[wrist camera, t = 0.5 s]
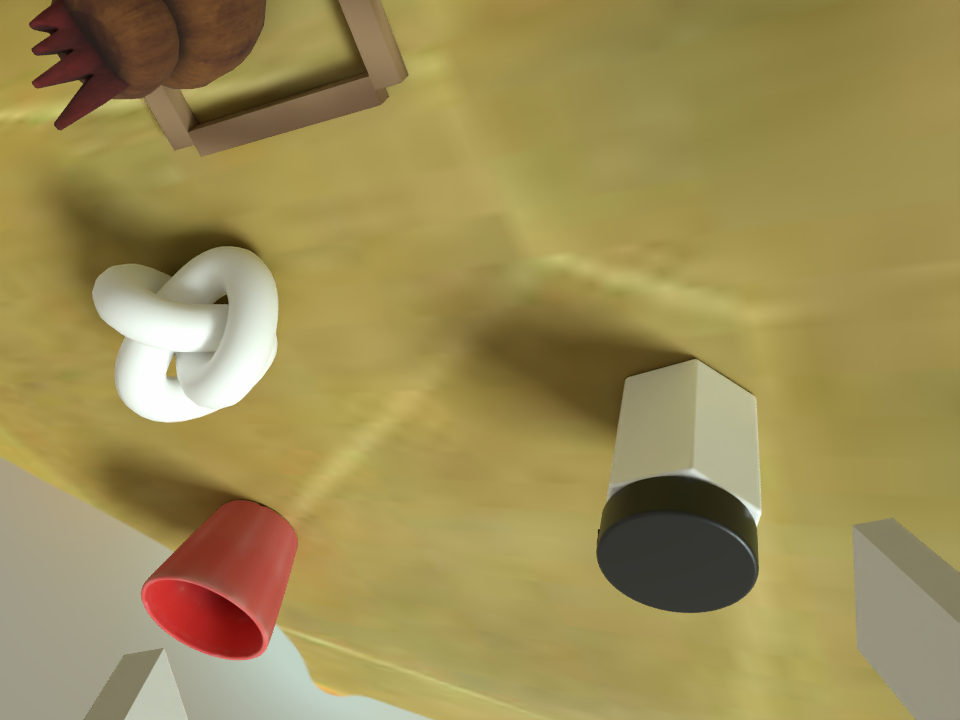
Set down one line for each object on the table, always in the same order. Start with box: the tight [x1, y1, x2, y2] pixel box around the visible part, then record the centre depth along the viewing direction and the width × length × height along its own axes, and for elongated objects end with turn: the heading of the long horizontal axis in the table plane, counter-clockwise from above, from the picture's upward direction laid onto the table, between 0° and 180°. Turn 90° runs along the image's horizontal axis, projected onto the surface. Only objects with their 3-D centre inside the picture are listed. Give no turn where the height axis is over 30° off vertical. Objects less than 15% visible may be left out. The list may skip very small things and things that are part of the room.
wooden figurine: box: [29, 0, 266, 130], centre depth 33 cm, size 7×6×15 cm
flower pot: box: [141, 500, 298, 660], centre depth 64 cm, size 11×11×10 cm
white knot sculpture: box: [92, 246, 278, 422], centre depth 48 cm, size 11×12×9 cm
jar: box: [596, 359, 762, 613], centre depth 43 cm, size 9×8×12 cm
